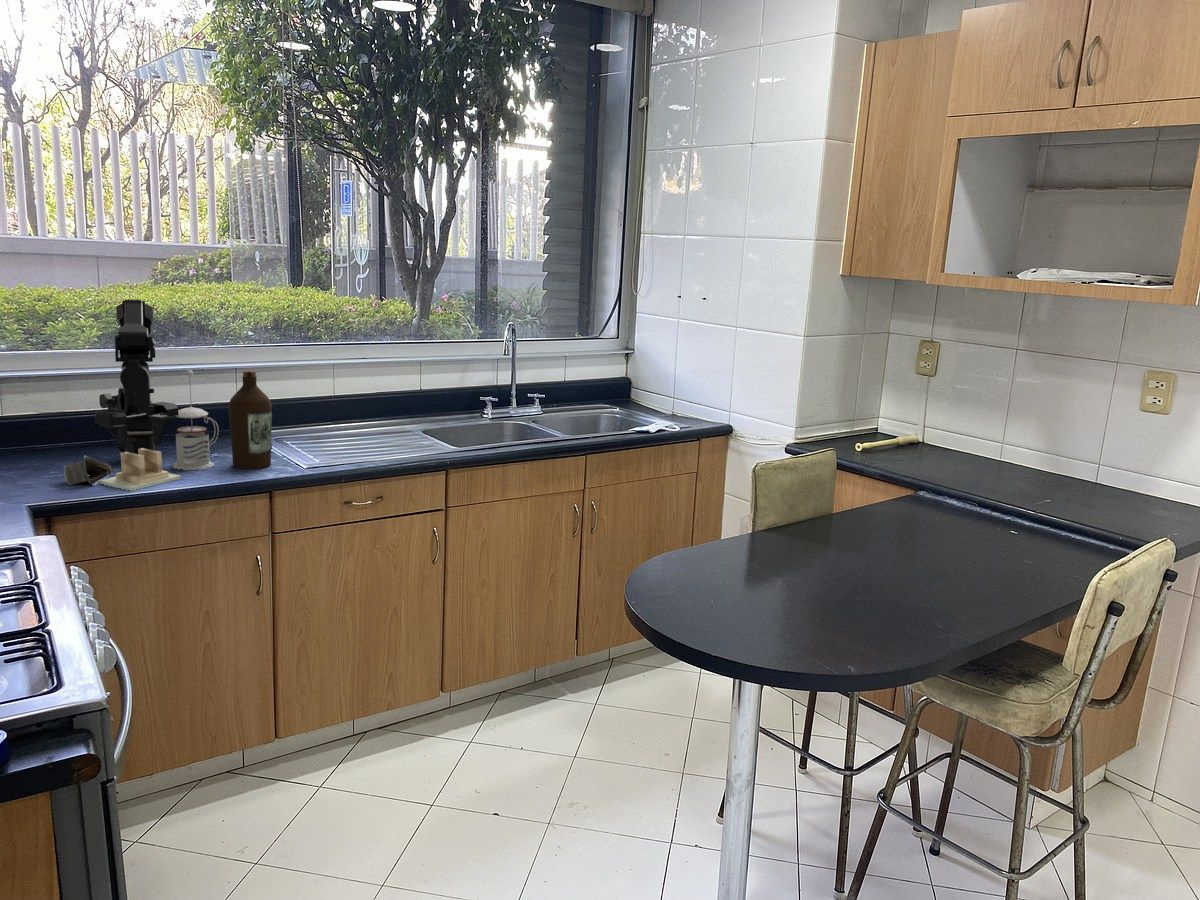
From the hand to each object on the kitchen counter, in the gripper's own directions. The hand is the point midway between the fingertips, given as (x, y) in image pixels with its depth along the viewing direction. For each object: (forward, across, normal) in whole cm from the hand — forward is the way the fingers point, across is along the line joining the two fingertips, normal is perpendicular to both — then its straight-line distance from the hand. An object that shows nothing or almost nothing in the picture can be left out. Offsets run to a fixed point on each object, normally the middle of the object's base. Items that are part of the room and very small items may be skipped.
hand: (139, 449), depth 213 cm
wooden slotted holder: (+7, 0, 0) cm, 7 cm away
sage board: (+8, 0, -1) cm, 8 cm away
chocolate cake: (+8, +6, -11) cm, 15 cm away
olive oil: (+8, -27, +8) cm, 29 cm away
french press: (+8, -19, -3) cm, 21 cm away
